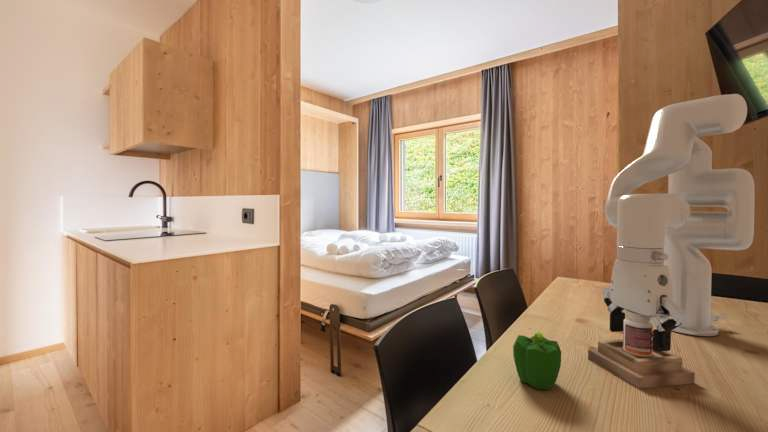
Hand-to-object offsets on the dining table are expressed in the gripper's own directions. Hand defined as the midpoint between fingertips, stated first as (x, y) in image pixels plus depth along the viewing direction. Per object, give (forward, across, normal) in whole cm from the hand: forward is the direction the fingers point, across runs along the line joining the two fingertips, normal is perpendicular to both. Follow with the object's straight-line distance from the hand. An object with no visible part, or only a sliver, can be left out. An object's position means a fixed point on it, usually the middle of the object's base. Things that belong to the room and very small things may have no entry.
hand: (637, 340), depth 67 cm
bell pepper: (+6, -1, +23) cm, 24 cm away
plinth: (+6, 0, 0) cm, 6 cm away
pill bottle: (+3, 0, 0) cm, 3 cm away
